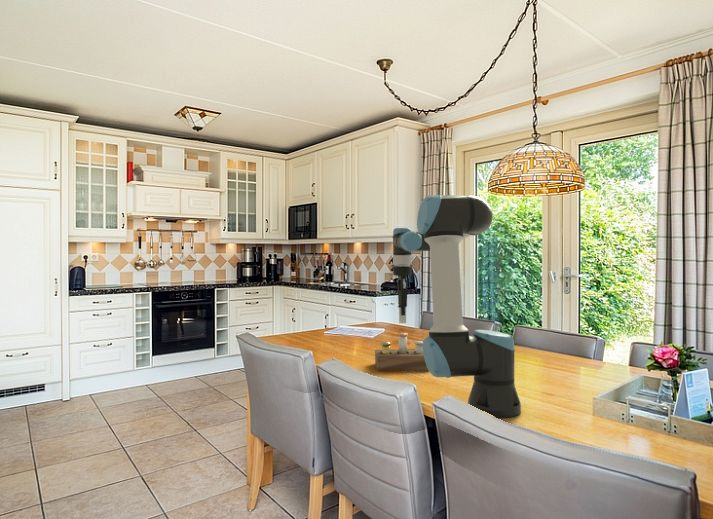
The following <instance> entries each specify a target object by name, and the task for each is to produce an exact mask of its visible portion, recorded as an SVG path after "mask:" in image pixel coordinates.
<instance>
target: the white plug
mask: <svg viewBox="0 0 713 519" xmlns="http://www.w3.org/2000/svg"><path fill="white" fill-rule="evenodd" d="M397 336H398V349H399V354H407V349H408V336H409V333H408V332H397Z"/></svg>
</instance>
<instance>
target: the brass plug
mask: <svg viewBox="0 0 713 519" xmlns="http://www.w3.org/2000/svg"><path fill="white" fill-rule="evenodd" d="M380 345H381V350H382V354H390V350H391V345H392V342H391V341H381V342H380Z"/></svg>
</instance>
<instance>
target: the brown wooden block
mask: <svg viewBox="0 0 713 519" xmlns="http://www.w3.org/2000/svg"><path fill="white" fill-rule="evenodd" d="M374 364H375V367H376V372H401V371H402V372H405V371H406V372H407V371H409V372H412V371H415V372H417V371H429V370H428V368H427V366H426V363H425V359H424V355H423V353H416V348H409V349H408V348H407V354H399V348H397V349H396V348H394V349H392V348H391V349H390V354H382V349H375V350H374Z"/></svg>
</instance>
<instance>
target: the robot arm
mask: <svg viewBox="0 0 713 519" xmlns="http://www.w3.org/2000/svg"><path fill="white" fill-rule="evenodd" d="M416 219H417V220H416V228H417V231H413V230H412V229H411V228H410V227H396V228H394V229H393V231H392V265H393V267H392V270H393V272H392V274H393V275H394V276H398V279H396V284H397V301H398V305H397V308H398V323H399V324H407V307H408V286H409V282H408V281H409V280H408V279H407V276H411V275H412V274H413V273H412V266H411V265H412V260H414V258H413V257H412V252H429V254H430V256H429V257H430V258H429V259H430V260H429V261H430V275H431V276H430V277H431V278H430V279H431V299H432V318H433V325H432V326H431V327H430V329H428V336H426V337H424V339H423V355H424V359H425V363H426V366H427V368H428V370H427V371H428V372H429V373H430V374H431V376H433V377H435V378H447V379H450V378H455V377H458V378H459V377H473V383H472V386H471V389H470V393H469V396H468V400H467V405H468V404H470V405H472V406H474V407H476V408H478V409H480V410H482V411H485V412H487V413H489V414H491V415H493V416H495V417H494V418H499V419H501V418H513V417H516V416H518V415H520V414H521V413H522V409H521V408H522V405H521V400H520V397H519V394H518V392H517V388H516V385H515V352H516V349H515V341H514V337H512V336H511V335H510V334H508V333H504V332H499V331H496V330H495V331H494V330H489V329H488V330H487V329H474V330H473V333H472V335H470V332H469V329H468V328H467V327H466V326H465V325H464V319H463V318H464V316H463V303H462V302H463V300H462V299H463V298H462V285H461V284H462V283H461V282H462V281H461V266H460V265H461V264H460V249H459V248H460V246H459V244H460V243H461V242H462V241H464V240H465V239H466V238H469V237H470V236H479V235H480V234H483V233H485V231H487V230H488V229H489V228H490V227H491V225H492V222H493V219H494V216H493V210H492V208H491V207H490V205H489V204H488V202H487V201H485V200H484V199H483V198H481V197H478V196H474V195H451V194H450V195H449V194H437V195H427V196H425V197H424V198H423V199H422V201H421V203H420V205H419V209H418V212H417V217H416Z"/></svg>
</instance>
